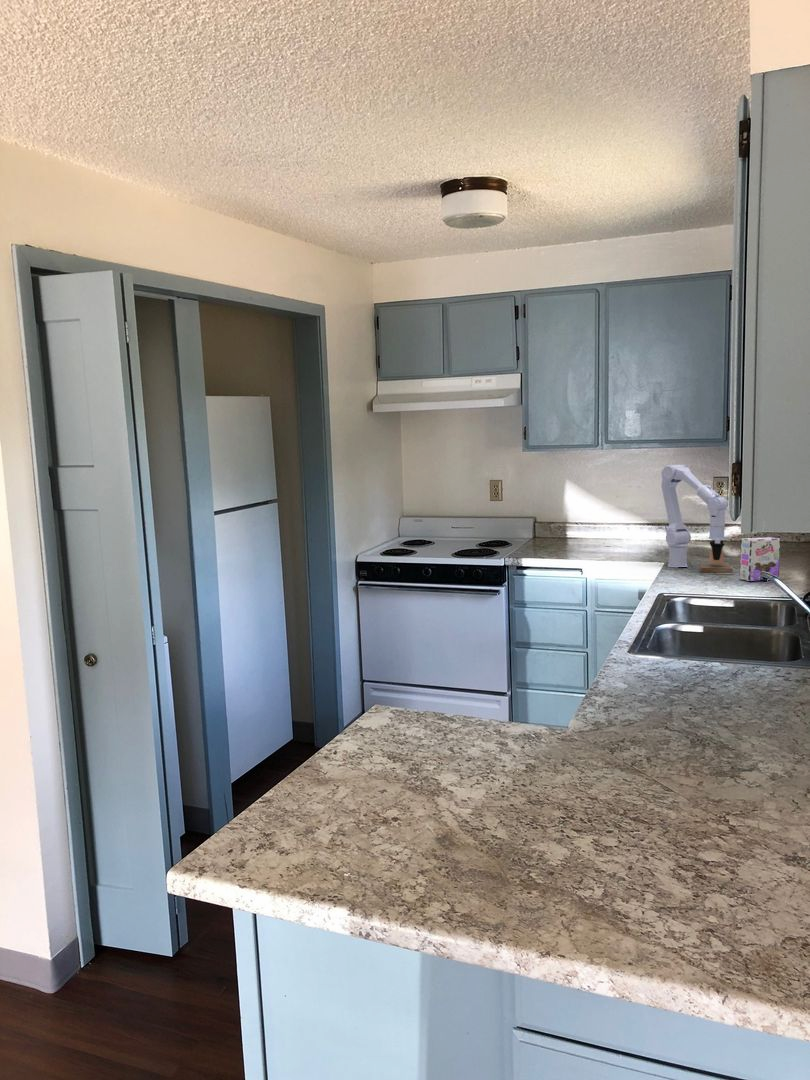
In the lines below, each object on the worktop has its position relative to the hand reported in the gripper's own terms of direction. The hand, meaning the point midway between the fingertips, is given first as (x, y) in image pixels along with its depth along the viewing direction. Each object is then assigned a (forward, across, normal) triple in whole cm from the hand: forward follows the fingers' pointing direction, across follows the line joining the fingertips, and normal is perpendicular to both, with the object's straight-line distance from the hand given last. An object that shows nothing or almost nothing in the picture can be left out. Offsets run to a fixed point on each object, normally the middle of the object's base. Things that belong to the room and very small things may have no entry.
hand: (716, 559), depth 344 cm
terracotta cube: (+1, 0, 0) cm, 1 cm away
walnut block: (+6, 0, 0) cm, 6 cm away
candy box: (+6, -18, -15) cm, 24 cm away
